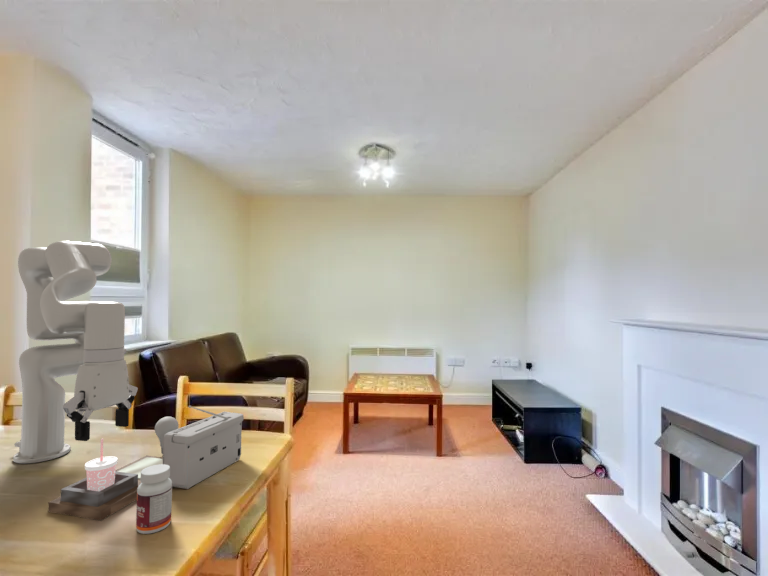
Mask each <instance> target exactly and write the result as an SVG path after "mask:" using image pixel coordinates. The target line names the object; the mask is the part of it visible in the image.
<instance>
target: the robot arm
mask: <svg viewBox="0 0 768 576" xmlns="http://www.w3.org/2000/svg"><path fill="white" fill-rule="evenodd" d="M112 261H113V260H112V255H111V252H110V251H109V249H108V248H107V247H106V246H105V245H103V244H100V243H92V242H82V241H74V240H73V241H70V240H59V241H55V242H51V243H50V244H49V245H47V246H46V247H45V246H38V247H36V246H34V247H28V248H24V249H22V250H21V252H20V253H19V255H18V258H17V266H18V272H19V276H20V279H21V281H22V283H23V285H24V289H25V291H26V332H27V335H28V337H29V338H30V339H31V340H34V341H41V342H44V341H60V340H74V343H63V344H60V343H59V344H57V343H56V344H46V345H45V344H44V345H37V346H32V347H29V348H26V349H25V350H23V351H22V353H21V354H20V355H19V359H18V365H19V372H20V378H21V388H22V389H21V390H22V393H21V394H22V395H21V396H22V399H21V402H22V403H21V429H20V430H21V435H20V437H21V438H20V440H19V441H16V442H15V443H14V447H16V448H19V449H18V450H19V451H18V452H16V453H15V454H14V455H13V456H12V460H13V462H14V463H16V464H36V463H42V462H45V461H50V460H54V459H58V458H59V457H63V456H65V455H66V454H68V453H69V452H70V451H71V448H72V447H71V445H70V444H68V443H65V427H66V426H65V424H66V423H65V421H66V420H65V419H66V417H68V418H69V419H70V420H71V421H72V422H73V423H74V440H75V441H78V442H87V441H89V440H90V439H91V436H90V435H91V434H90V433H91V432H90V431H91V430H90V429H91V422H90V421H88V420H89V418H90V417H91V415H92V414H93V412H95V411H99V410H101V409H106V408H110V407H113V406H116V407H117V408H116V409H115V415H114V416H115V423H114V425H115V426H116V427H120V428H127V427H129V421H130V420H129V419H130V418H129V417H130V413H129V412H130V410H131V408H132V404H133V403H134V401H135V400H136V395H137V392H138V391H139V390H138V389H139V388H138V387H137V386H135V385H132V384H130V382H129V381H130V380H129V371H128V370H129V369H128V366H127V362H126V361H127V360H126V359H125V355H126V354H127V349H126V348H125V321H126V319H125V317H126V316H125V315H126V310H125V309H126V307H125V305H124V304H123V303H121V302H118V301H100V300H99V301H98V300H95V301H93V300H90V301H89V300H80V301H79V300H70V299H74V298H76V297H79V296H82V295H85V294H86V293H88V292H90V291H92V290H93V289H94V287H95V285H96V284H97V279H98V278H97V277H99V276H102V275H104V274H106V273H108V272H109V270H110V269H111V266H112ZM68 300H70V301H68ZM68 376H76V378H75V384H74V394H73V397H72V398H70V399H69V400H68V401H66V390H65V388H64V387H63V386H62V385H61V384H60V383H59V382H58V381H56V378H60V377H68Z"/></svg>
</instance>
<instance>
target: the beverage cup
mask: <svg viewBox="0 0 768 576" xmlns="http://www.w3.org/2000/svg"><path fill="white" fill-rule="evenodd" d="M118 459H119V458H118V457H117V456H114V455H113V456H112V455H109V456H104V438H100V457H96V458H93V459H90V460H88V461H86V462H85V464H84V470H85V471H86V478H87V490H92V491H101V490H103V489H105V488H107V487H109V486H111V485H113V484H114V482H115V471H116V470H117V464H118V461H119V460H118Z"/></svg>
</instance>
